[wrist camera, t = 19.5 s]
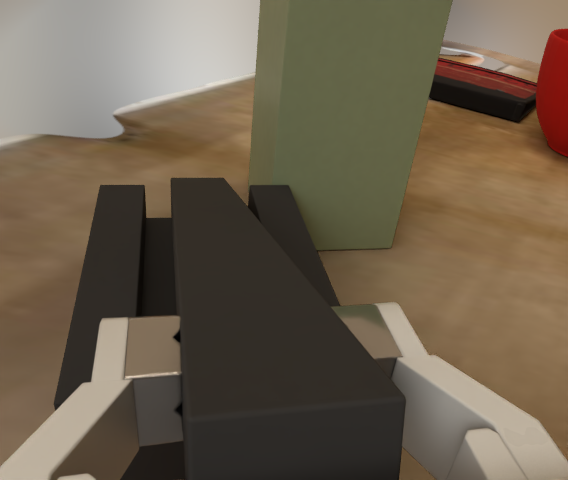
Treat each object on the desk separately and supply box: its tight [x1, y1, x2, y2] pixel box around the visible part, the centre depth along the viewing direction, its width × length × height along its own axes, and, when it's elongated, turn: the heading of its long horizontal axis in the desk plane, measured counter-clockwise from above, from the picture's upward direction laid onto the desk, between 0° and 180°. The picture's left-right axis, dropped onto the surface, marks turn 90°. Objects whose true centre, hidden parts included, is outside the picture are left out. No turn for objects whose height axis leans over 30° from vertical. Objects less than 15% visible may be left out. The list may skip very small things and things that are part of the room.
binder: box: [429, 58, 537, 122], centre depth 66 cm, size 16×2×21 cm
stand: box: [248, 0, 453, 250], centre depth 30 cm, size 8×8×20 cm
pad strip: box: [171, 178, 406, 480], centre depth 18 cm, size 3×24×2 cm, turn 11°
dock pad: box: [54, 185, 340, 480], centre depth 23 cm, size 10×14×4 cm
